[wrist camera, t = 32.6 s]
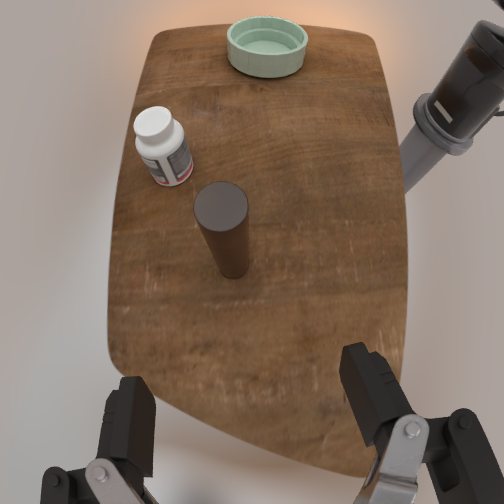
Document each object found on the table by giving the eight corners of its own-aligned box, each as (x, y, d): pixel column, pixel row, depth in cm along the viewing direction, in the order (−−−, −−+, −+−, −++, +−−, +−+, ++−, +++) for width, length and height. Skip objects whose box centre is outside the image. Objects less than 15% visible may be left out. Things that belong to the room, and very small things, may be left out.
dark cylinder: (248, 250, 33) (248, 181, 17) (248, 279, 32) (248, 232, 17) (219, 249, 33) (195, 181, 17) (218, 278, 32) (190, 231, 17)
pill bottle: (188, 145, 36) (173, 94, 27) (198, 179, 35) (183, 130, 26) (149, 159, 36) (124, 112, 26) (156, 193, 35) (129, 150, 25)
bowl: (299, 41, 43) (303, 18, 37) (306, 83, 40) (312, 57, 34) (230, 39, 42) (229, 15, 37) (226, 81, 39) (224, 54, 34)
